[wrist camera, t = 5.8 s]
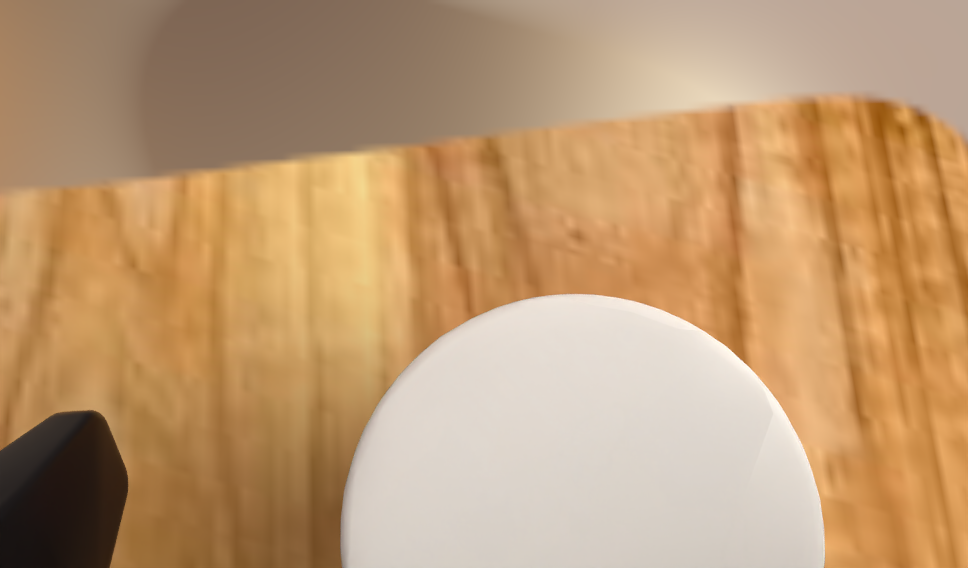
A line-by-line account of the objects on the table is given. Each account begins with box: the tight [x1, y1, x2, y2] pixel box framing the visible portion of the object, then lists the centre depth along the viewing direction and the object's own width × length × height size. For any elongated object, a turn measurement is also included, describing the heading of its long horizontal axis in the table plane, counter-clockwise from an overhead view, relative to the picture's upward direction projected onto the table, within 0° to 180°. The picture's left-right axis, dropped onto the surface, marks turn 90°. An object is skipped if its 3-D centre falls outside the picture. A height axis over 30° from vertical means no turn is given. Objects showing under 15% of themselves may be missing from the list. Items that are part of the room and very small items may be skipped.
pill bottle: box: [340, 294, 825, 568], centre depth 11 cm, size 5×5×8 cm
